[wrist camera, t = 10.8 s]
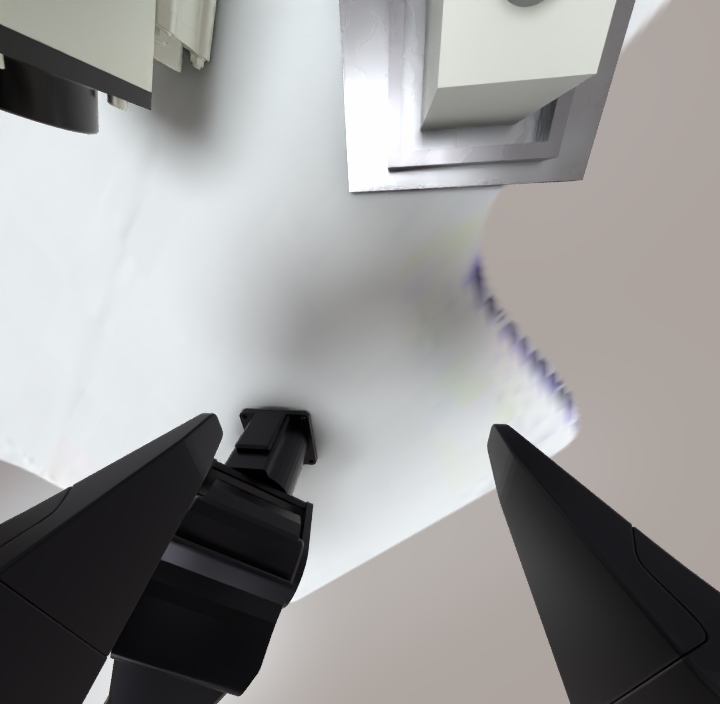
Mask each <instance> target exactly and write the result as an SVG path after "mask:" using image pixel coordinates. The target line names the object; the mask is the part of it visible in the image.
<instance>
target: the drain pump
mask: <svg viewBox="0 0 720 704" xmlns="http://www.w3.org/2000/svg"><path fill="white" fill-rule="evenodd" d="M615 4H616V0H426V20H425V40H424V60H423V80H422V101H421V121H420V131H429V130H443V129H456V128H469V127H483V126H496V125H509V124H516V123H518V122H519V121H521V120H522V119H524V118H526V117H527V116H529V115H531V114H532V113H534V112H535V111H537V110H539V109H540V108H542V107H543V106H545V105H547V104H548V103H550V102H551V101H553V100H555V99H556V98H558V97H559V96H561V95H563V94H564V93H566V92H568V91H569V90H571V89H572V88H574V87H576V86H577V85H579V84H580V83H582V82H584V81H585V80H587V79H588V78H590V77H592V76H593V75H595V74H596V73H597V70H598V66H599V62H600V59H601V55H602V51H603V48H604V44H605V40H606V37H607V33H608V29H609V26H610V22H611V18H612V15H613V11H614V7H615Z"/></svg>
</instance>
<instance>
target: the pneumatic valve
mask: <svg viewBox="0 0 720 704" xmlns="http://www.w3.org/2000/svg"><path fill="white" fill-rule="evenodd" d="M216 1H217V0H0V110H2V111H5V112H8V113H11V114H14V115H17V116H20V117H23V118H26V119H30V120H33V121H36V122H39V123H43V124H46V125H49V126H53V127H57V128H61V129H64V130H69V131H73V132H78V133H84V134H97V133H98V132H99V123H98V92H97V91H98V90H99V91H101V92H104V93H107V101H108V103H109V104H111V105H112V106H115V107H117V108H119V109H121V110H124V111H127V101H128V102H130V103H133V104H136V105H138V106H141V107H144V108H146V109H149V110H151V98H152V93H151V92H152V75H153V59H155V60H157V61H159V62H160V63H162V64H164V65H166V66H168V67H170V68H171V69H173V70H175V71H177V72H179V73H180V72H181V67H182V55H183V48H185V49H187V50H189V52H190V53H191V55H190V61H191V62H193V66H194V67H195V68H197V69H199V70H200V67H201V68H203V66H204V62H206V61H208V62H209V59H210V51H211V43H212V35H213V26H214V18H215V10H216ZM149 91H150V92H149Z"/></svg>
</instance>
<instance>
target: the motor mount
mask: <svg viewBox="0 0 720 704" xmlns="http://www.w3.org/2000/svg"><path fill="white" fill-rule="evenodd" d="M634 3H635V0H616V4H615V7H614V11H613V15H612V18H611V22H610V26H609V29H608V33H607V37H606V40H605V44H604V48H603V51H602V55H601V59H600V62H599V66H598V70H597V73H596V74H595V75H593V76H592V77H590V78H588V79H587V80H585V81H584V82H582V83H580V84H579V85H577V86H576V87H574V88H572V89H571V90H569V91H568V92H566V93H564V94H563V95H561V96H559V97H558V98H556V99H555V100H553V101H551V102H550V103H548V104H547V105H545V106H543V107H542V108H540V109H539V110H537V111H535V112H534V113H532V114H531V115H529V116H527V117H526V118H524V119H522V120H521V121H519V122H518V123H516V124H509V125H496V126H483V127H469V128H456V129H443V130H429V131H420V121H421V101H422V80H423V60H424V40H425V20H426V0H339V7H340V26H341V45H342V64H343V83H344V102H345V121H346V140H347V159H348V178H349V192H370V191H390V190H409V189H428V188H447V187H467V186H486V185H505V184H524V183H544V182H563V181H576V180H582V179H583V176H584V173H585V170H586V166H587V163H588V159H589V156H590V153H591V149H592V146H593V142H594V139H595V135H596V131H597V129H598V125H599V122H600V118H601V115H602V112H603V108H604V105H605V102H606V98H607V95H608V91H609V88H610V84H611V81H612V78H613V74H614V71H615V68H616V64H617V61H618V57H619V54H620V51H621V47H622V44H623V41H624V37H625V34H626V30H627V27H628V24H629V20H630V17H631V13H632V10H633V7H634Z"/></svg>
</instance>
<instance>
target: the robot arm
mask: <svg viewBox="0 0 720 704" xmlns="http://www.w3.org/2000/svg"><path fill="white" fill-rule="evenodd" d="M246 415H247V416H246ZM303 417H305V418H303ZM240 419H241V422H242V425H243V428H244V432H243V433H242V435H241V436H240V438H239V440H238V441H237V443H236V444H235V449H234V450H233V452H232V453H231V455H230V456H229V458H228V460H227V461H226V463H225V464H222V463H220V462H218V461H217V459H215V458H214V456H215V454H216V451H217V449H218V447H219V444H220V442H221V440H222V436H223V431H222V428H221V425H220V423H219V420H218V417H217V416H216V415H215V414H213V413H202V414H200V415H198V416H196V417H195V418H193V419H191V420H189V421H187V422H186V423H184V424H182V425H180V426H178V427H177V428H175V429H173V430H171V431H169V432H168V433H166V434H164V435H162V436H160V437H159V438H157V439H155V440H153V441H151V442H150V443H148V444H146V445H144V446H142V447H141V448H139V449H137V450H135V451H133V452H132V453H130V454H128V455H126V456H124V457H123V458H121V459H119V460H117V461H115V462H114V463H112V464H110V465H108V466H106V467H105V468H103V469H101V470H99V471H97V472H96V473H94V474H92V475H90V476H88V477H87V478H85V479H83V480H81V481H79V482H78V483H76V484H74V485H73V487H68V488H67V489H65V490H63V491H62V492H60V493H58V494H56V495H54V496H52V497H50V498H49V499H47V500H45V501H43V502H41V503H39V504H38V505H36V506H34V507H32V508H30V509H28V510H27V511H25V512H23V513H21V514H19V515H17V516H15V517H13V518H11V519H9V520H7V521H5V522H3V523H1V524H0V704H82V703H83V701H84V699H85V698H86V696H87V694H88V692H89V690H90V689H91V687H92V685H93V683H94V681H95V679H96V677H97V676H98V674H99V672H100V670H101V668H102V666H103V665H104V663H105V661H106V659H107V656H108V655H109V653H110V652H111V658H112V659H114V664H113V671H112V679H111V685H110V691H109V696H108V697H107V699H106V701H105V703H104V704H217V703H218V702H219V701H220V700H221V699H222V698H223V697H224V696H225V695H226V694H227V693H229V694H232V695H235V696H240V695H242V694H243V692H244V691H245V690H246V689H247V687H248V686H249V685H250V683H251V682H252V680H253V679H254V678H255V676H256V675H257V674H258V672H259V670H260V668H261V665H262V662H263V659H264V656H265V653H266V650H267V647H268V644H269V641H270V638H271V635H272V632H273V630H274V627H275V624H276V622H277V619H278V617H279V614H280V612H281V609H282V608H285V607H286V606H287V605H288V604H289V602H290V601H291V599H292V598H293V596H294V594H295V592H296V590H297V588H298V585H299V583H300V581H301V578H302V575H303V572H304V569H305V566H306V561H307V557H308V550H309V541H310V531H311V521H312V511H313V504H311V503H309V502H304V501H302V500H300V499H298V498H295V497H293V496H292V495H293V492H294V489H295V486H296V483H297V480H298V477H299V474H300V471H301V468H302V465H303V464H309V465H314V464H315V463H316V461H317V455H316V449H315V443H314V437H313V431H312V425H311V419H310V415H309V414H308V413H307V412H301V411H273V410H246V409H245V410H242V412H241V413H240ZM487 449H488V454H489V459H490V463H491V467H492V471H493V476H494V480H495V484H496V489H497V493H498V497H499V500H500V504H501V507H502V510H503V513H504V515H505V518H506V521H507V524H508V527H509V530H510V533H511V535H512V538H513V541H514V544H515V547H516V550H517V553H518V555H519V558H520V561H521V564H522V567H523V569H524V573H525V575H526V578H527V581H528V584H529V587H530V590H531V593H532V595H533V598H534V601H535V604H536V607H537V610H538V613H539V615H540V618H541V621H542V624H543V627H544V630H545V632H546V635H547V638H548V641H549V644H550V647H551V649H552V652H553V655H554V658H555V661H556V664H557V667H558V670H559V672H560V675H561V678H562V681H563V684H564V687H565V689H566V692H567V695H568V698H569V701H570V704H720V592H719V591H718V590H716V589H715V588H714V587H712V586H711V585H709V584H708V583H707V582H705V581H704V580H703V579H701V578H700V577H699V576H697V575H696V574H695V573H693V572H692V571H691V570H689V569H688V568H687V567H685V566H684V565H683V564H681V563H680V562H679V561H678V560H676V559H675V558H674V557H672V556H671V555H670V554H669V553H667V552H666V551H665V550H664V549H662V548H661V547H660V546H658V545H657V544H656V543H654V542H653V541H652V540H651V539H650V538H648V537H647V536H646V535H645V534H643V533H642V532H641V531H640V530H638V529H637V528H636V527H632V524H631V523H630V522H628V521H627V520H626V519H624V518H623V517H622V516H621V515H620V514H618V513H617V512H616V511H615V510H613V509H612V508H611V507H610V506H608V505H607V504H606V503H605V502H603V501H602V500H601V499H600V498H598V497H597V496H596V495H595V494H593V493H592V492H591V491H590V490H588V489H587V488H586V487H585V486H584V485H582V484H581V483H580V482H579V481H577V480H576V479H575V478H574V477H572V476H571V475H570V474H569V473H567V472H566V471H565V470H563V469H562V468H561V467H560V466H558V465H557V464H556V463H555V462H554V461H552V460H551V459H550V458H549V457H548V456H546V455H545V454H544V453H543V452H541V451H540V450H539V449H538V448H536V447H535V446H534V445H533V444H531V443H530V442H529V441H528V440H526V439H525V438H524V437H523V436H521V435H520V434H519V433H518V432H516V431H515V430H514V429H513V428H512V427H510V426H509V425H507V424H493V425H492V427H491V431H490V435H489V439H488V443H487Z"/></svg>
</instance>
